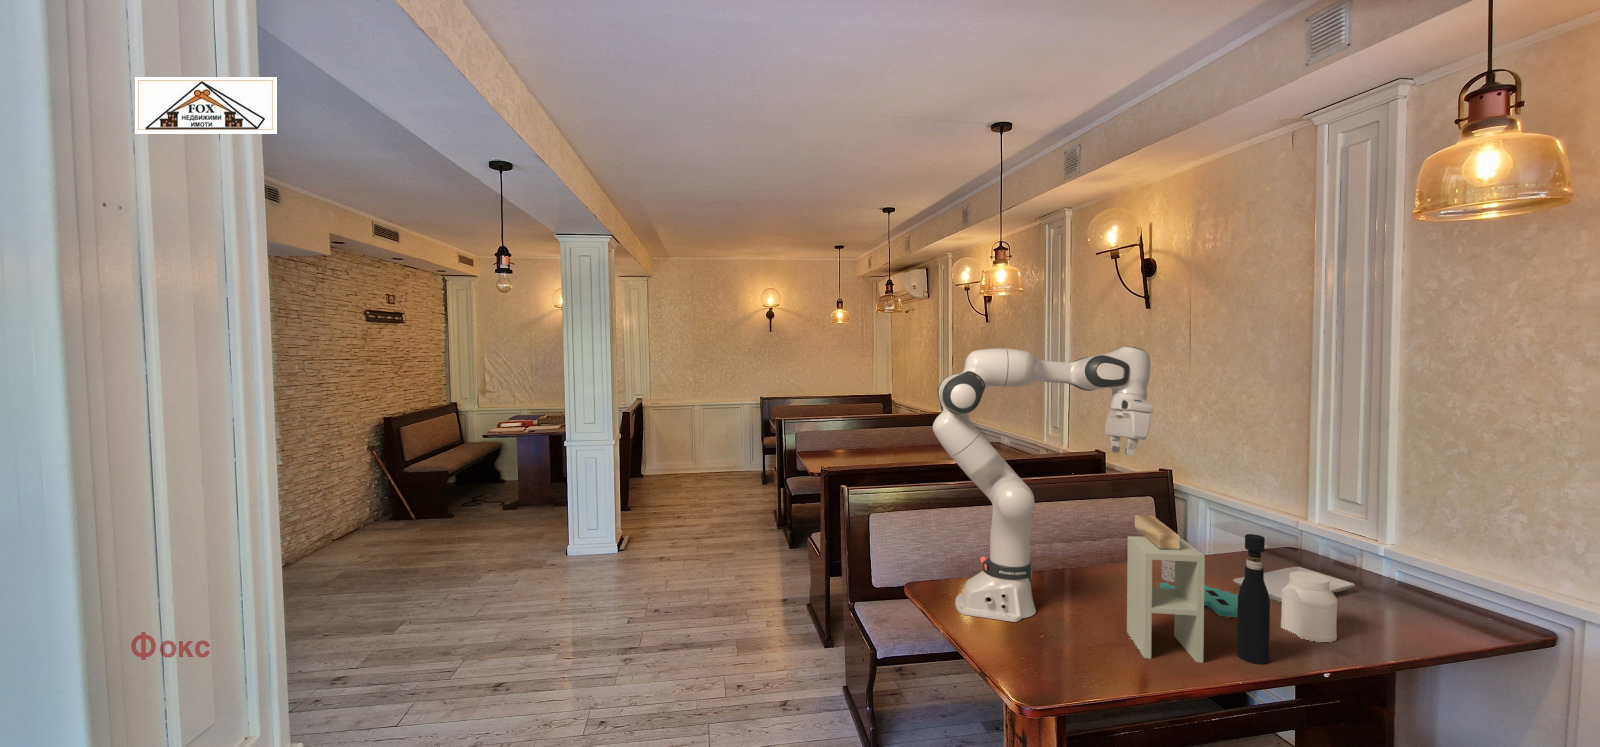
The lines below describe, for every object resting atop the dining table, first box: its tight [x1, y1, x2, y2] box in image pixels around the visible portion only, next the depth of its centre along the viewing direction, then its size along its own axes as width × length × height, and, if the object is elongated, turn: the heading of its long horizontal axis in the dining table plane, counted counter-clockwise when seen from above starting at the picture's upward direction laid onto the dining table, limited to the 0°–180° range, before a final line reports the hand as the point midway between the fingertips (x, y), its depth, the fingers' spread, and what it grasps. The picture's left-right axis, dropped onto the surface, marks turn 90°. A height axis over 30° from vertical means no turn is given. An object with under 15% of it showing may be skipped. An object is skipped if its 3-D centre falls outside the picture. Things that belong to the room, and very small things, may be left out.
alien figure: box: [1159, 582, 1238, 617], centre depth 188 cm, size 20×2×20 cm
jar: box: [1280, 571, 1338, 643], centre depth 167 cm, size 12×10×15 cm
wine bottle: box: [1236, 533, 1271, 665], centre depth 154 cm, size 6×6×30 cm
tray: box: [1232, 566, 1356, 603], centre depth 196 cm, size 17×31×4 cm, turn 111°
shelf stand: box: [1126, 535, 1206, 664], centre depth 160 cm, size 13×14×26 cm
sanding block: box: [1134, 514, 1181, 550], centre depth 166 cm, size 4×19×4 cm, turn 169°
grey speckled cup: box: [1160, 560, 1175, 584], centre depth 208 cm, size 10×7×7 cm
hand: (1121, 453), depth 178 cm, fingers open, 8 cm apart
